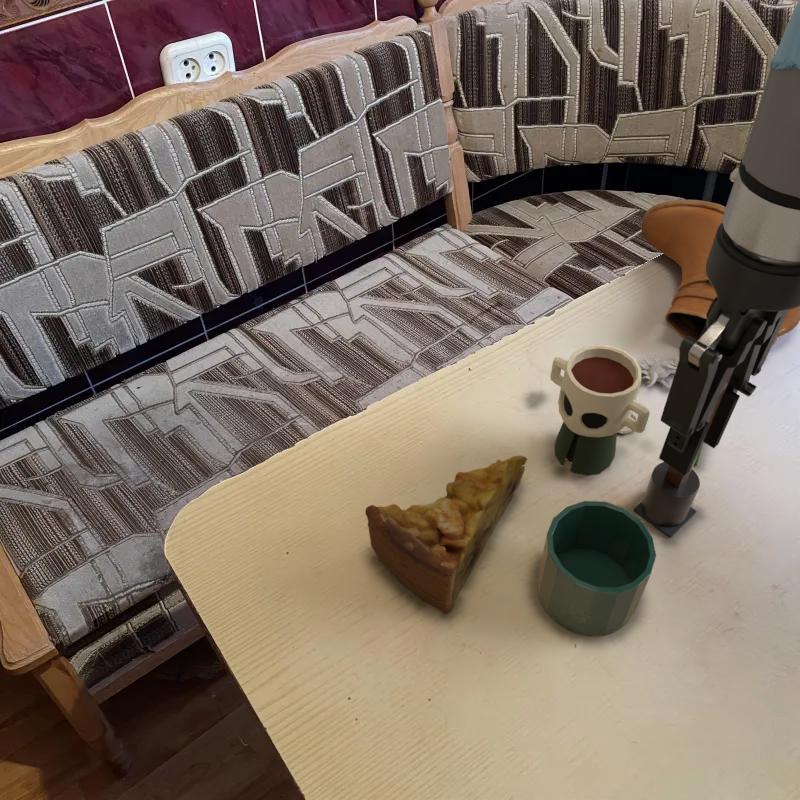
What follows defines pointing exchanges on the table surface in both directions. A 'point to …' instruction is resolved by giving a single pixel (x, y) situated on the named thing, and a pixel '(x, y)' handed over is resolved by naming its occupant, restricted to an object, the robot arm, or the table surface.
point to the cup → (594, 567)
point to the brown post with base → (674, 486)
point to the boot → (691, 260)
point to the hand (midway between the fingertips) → (688, 450)
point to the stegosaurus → (657, 371)
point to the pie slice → (444, 531)
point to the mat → (665, 530)
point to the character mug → (596, 405)
